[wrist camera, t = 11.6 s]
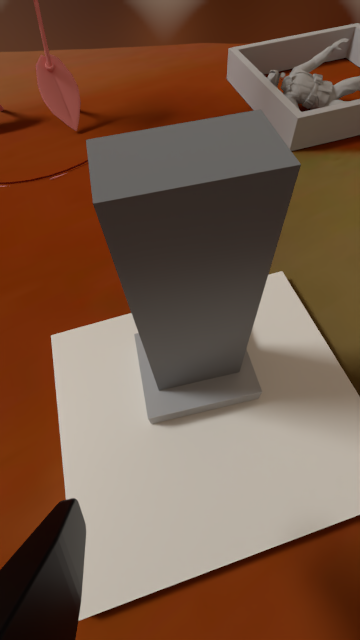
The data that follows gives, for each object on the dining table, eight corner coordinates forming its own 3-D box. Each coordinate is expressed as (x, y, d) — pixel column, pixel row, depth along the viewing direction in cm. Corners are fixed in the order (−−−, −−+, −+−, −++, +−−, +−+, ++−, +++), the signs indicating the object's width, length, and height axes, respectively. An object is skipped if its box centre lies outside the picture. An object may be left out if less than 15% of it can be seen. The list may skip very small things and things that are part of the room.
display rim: (439, 116, 32) (460, 81, 29) (289, 151, 30) (297, 118, 27) (347, 54, 40) (358, 23, 37) (226, 79, 38) (228, 48, 36)
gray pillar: (258, 398, 17) (368, 196, 6) (151, 424, 17) (53, 258, 6) (231, 322, 20) (272, 81, 8) (137, 343, 19) (52, 118, 8)
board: (408, 493, 15) (418, 492, 14) (83, 615, 13) (77, 621, 13) (279, 278, 22) (282, 271, 22) (55, 341, 21) (51, 335, 20)
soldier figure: (376, 148, 31) (267, 107, 29) (346, 157, 36) (251, 123, 34) (411, 59, 29) (297, 9, 27) (375, 81, 34) (275, 40, 32)
